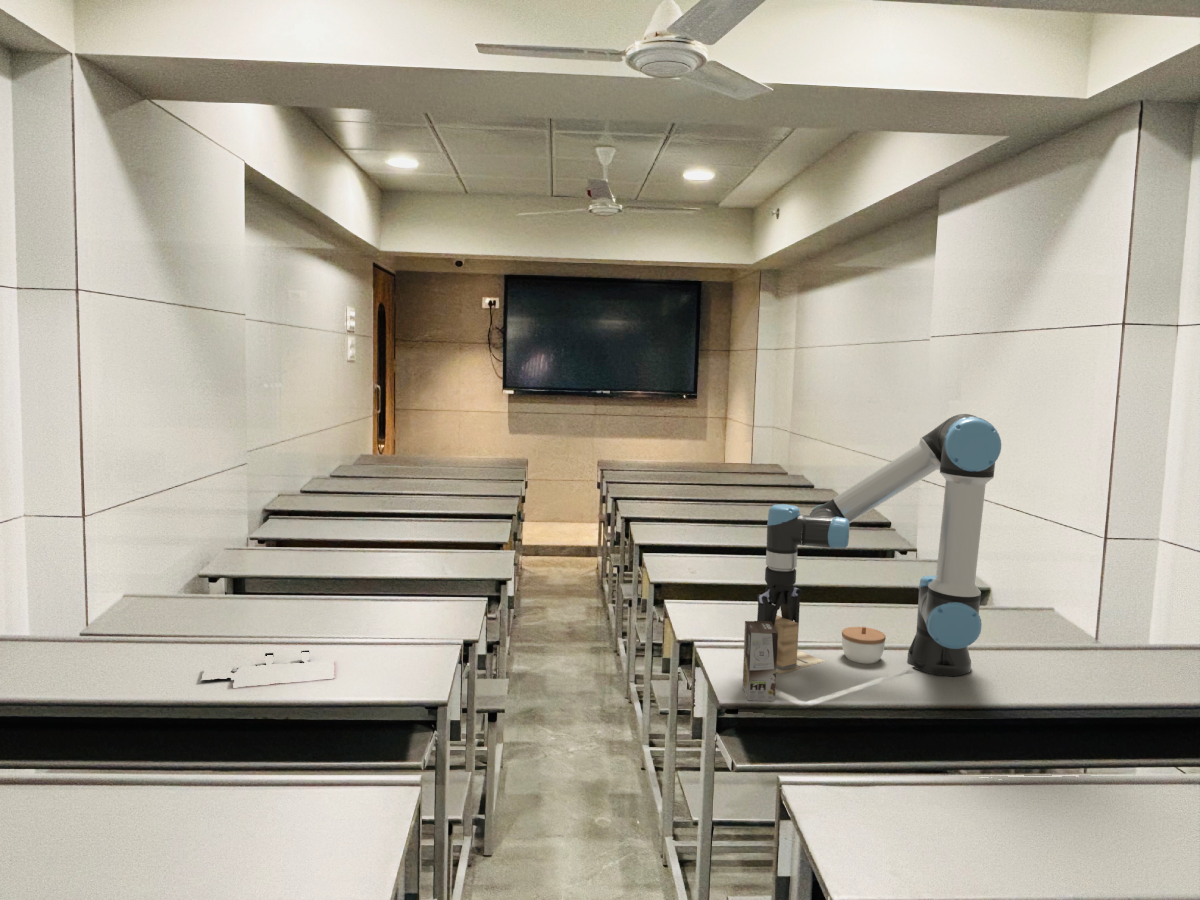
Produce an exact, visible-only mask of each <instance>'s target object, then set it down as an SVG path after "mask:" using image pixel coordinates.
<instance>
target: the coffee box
mask: <svg viewBox="0 0 1200 900" xmlns="http://www.w3.org/2000/svg"><path fill="white" fill-rule="evenodd" d="M743 639H744V640H743V667H742V670H743V671H742V687H743V690H744V693H745V696H746V698H747V700H748V701H757V702H758V701H759V702H761V701H762V702H775V701H776V700H775V699H776V682H777V672H776V665H777V646H778V632H777V630H776V629H775V627H774V625H773V624H772V622H771V621H757V620H745V621H744V638H743Z"/></svg>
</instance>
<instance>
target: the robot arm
mask: <svg viewBox="0 0 1200 900" xmlns="http://www.w3.org/2000/svg"><path fill="white" fill-rule="evenodd" d="M1001 452H1002V440H1001V436H1000V434H999V432H998V429H997V428H995V426H994V425H993V424H992V423H990V422H989V421H987V420H986V419H984V418H981V417H978V416H976V415H973V414H968V413H961V414H957V415H953V416H951V417H949V418H947V419H945V420H944V421H943V422H942V423H940V424H939V425H938V426H936V427H935V428H934V429H932V430H931V431H929V432H928V433H927V434H925V435H924V436H921V437H920V439H919V443H918V444H917V445H915V446H914V447H912V448H910V449H909V450H908V451H905V452H904V453H903V454H901V455H900V456H897V458H895V459H894V460H892V461H890V462H889V463H887V464H885V465H884V466H882V467H880V468H879V469H877V470H876V471H875V472H873V473H871V474H869V475H868V476H866V477H865V478H863V479H861V480H860V481H859V482H857V483H855V484H854V485H853V486H851V487H849V488H847V489H846V490H844V491H842V492H841V493H840V494H837V496H835V497H833V498H832V499H831V500H828V501H826V503H823V504H819V505H817V506H815V507H814V508H813V509H812V510H811V512H810V513H809V515H805V514H801V512H800V508H799V507H798V506H796V505H794V504H793V505H792V504H784V503H783V504H782V503H781V504H780V503H779V504H778V503H777V504H774V505H772V506H770V508H769V509H768V516H767V523H766V525H767V526H766V530H767V531H766V550H765V551H766V553H765V554H766V555H765V565H766V567H765V569H764V571H765V572H764V581H765V583H766V588H765V592H764V593H762V594H760V593H758V594H757V595H756V600H757V615H756V616H757V617H756V618H757V620H756V621H771V622H772V624H773V625H774V624H775V620H776V615H778V611H779V610H780V612H781V615H780V616H781V617H783V618H786V619H788V620H791V621H794V622H797V623H799V624H800V605H801V596H802V592H803V590H802V589H800V588H797V587H794V585H795V584H796V583H797V582H796V581H797V569H796V568H797V567H798V547H799V546H803V547H804V546H805V547H814V548H815V547H816V548H825V549H826V548H827V549H831V550H832V549H833V550H835V549H846V548H848V546H849V539H850V524H851V523H853V522H854V521H856V520H857V519H859V518H860V517H862V516H864V515H865V514H867V513H869V512H870V511H872V510H874V509H875V508H877V507H879V506H880V505H881V504H883V503H885V502H887V501H888V500H890V499H891V498H893V497H894V496H896V495H898V494H899V493H902V491H904V490H906V489H907V488H909V487H911V486H912V485H914V484H915V483H918V482H919V481H921V480H923V479H924V478H926V477H927V476H929V475H930V474H932V473H934V472H935V471H936V470H937V471H938V470H939V474H940V475H941V476H942V477H943V478H944V479H945V483H944V484H945V486H944V495H943V506H942V507H943V508H942V514H941V515H942V516H941V522H940V523H941V524H940V533H939V534H940V536H939V544H938V554H937V555H938V556H937V563H936V564H937V566H936V573H935V574H936V575H925V576H923V575H922V577H921V578H920V580H919V584H918V585H919V586H918V587H917V588H918V601H917V602H918V603H917V619H916V632H915V635H914V638H913V640H912V642H911V644H910V647H909V649H908V652H907V657H906V658H907V659H906V662H907V664H908V665H910V666H912V667H913V668H914V669H916V670H917V671H921V672H922V673H923V672H924V673H928V674H931V675H936V676H943V677H944V676H946V677H959V676H958V675H960V676H964V675H963V674H965V675H967V674H969V673H970V672H971V671H970V670H972V660H971V656H970V651H969V648H968V647H969V646H971V645H972V644H974V643H975V642H976V641H977V640H978V638H979V637H980V636H981V633H982V627H983V626H982V619H981V615H980V605H981V596H982V595H981V594H982V592H981V590H980V589H979V587H978V586H977V585H976V575H977V566H978V559H979V551H980V550H979V548H980V539H981V530H982V529H981V528H982V522H983V511H984V502H985V494H986V493H985V492H986V484H987V483H988V482H990V481H991V480H993V479H994V477H995V476H994V475H995V468H996V462H997V461H998V459H999V457H1000V454H1001ZM969 671H970V672H969ZM968 672H969V673H968ZM966 673H967V674H966Z"/></svg>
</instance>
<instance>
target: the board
mask: <svg viewBox="0 0 1200 900" xmlns="http://www.w3.org/2000/svg"><path fill="white" fill-rule="evenodd" d="M824 662H826V661H825V660H823V659H821V658H818V657H816V656H813V655H810V654H808V653H806V652H803V651H800V650H799V649H797V666H796V667H792V668H788V669H785V670H781V669H779V668H776V674H777V673H778V674H780V675H782V674H786V673H789V672H793V671H797V670H800V669H803V668H807V667H811V666H813V665H817V664H821V663H824Z"/></svg>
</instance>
